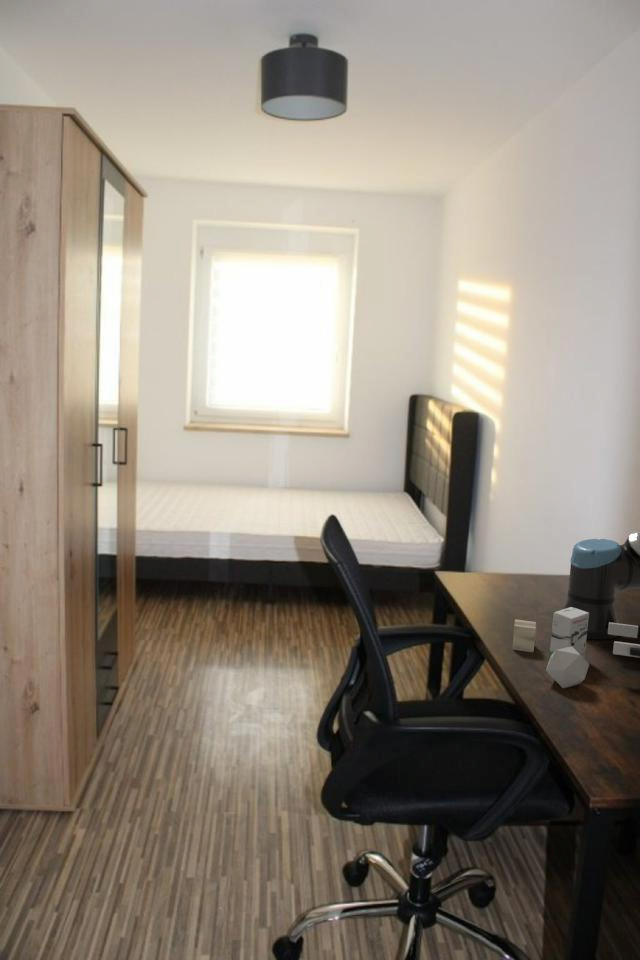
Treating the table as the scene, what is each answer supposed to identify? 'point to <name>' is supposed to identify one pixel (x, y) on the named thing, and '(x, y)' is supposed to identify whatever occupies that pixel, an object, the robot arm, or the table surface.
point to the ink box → (569, 630)
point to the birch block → (524, 635)
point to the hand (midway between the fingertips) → (610, 637)
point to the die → (567, 667)
